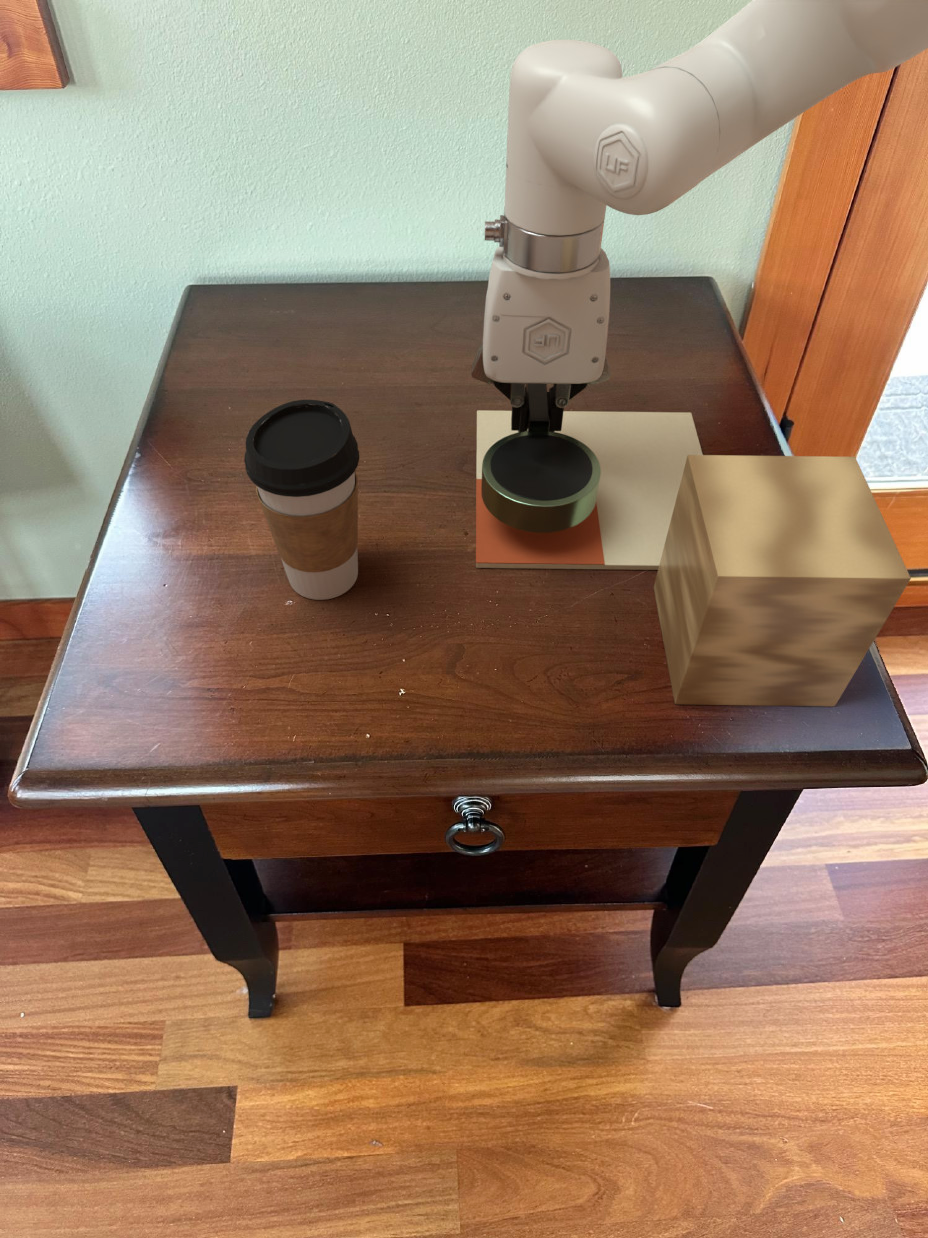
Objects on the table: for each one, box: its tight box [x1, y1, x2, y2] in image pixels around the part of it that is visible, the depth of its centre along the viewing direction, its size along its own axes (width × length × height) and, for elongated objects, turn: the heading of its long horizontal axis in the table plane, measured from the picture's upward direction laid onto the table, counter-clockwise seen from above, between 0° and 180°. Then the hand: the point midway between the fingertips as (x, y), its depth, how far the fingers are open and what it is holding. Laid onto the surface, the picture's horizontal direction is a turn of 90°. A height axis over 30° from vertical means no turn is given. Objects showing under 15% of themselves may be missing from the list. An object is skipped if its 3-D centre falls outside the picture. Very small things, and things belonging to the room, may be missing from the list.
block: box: [653, 454, 912, 707], centre depth 61 cm, size 12×12×14 cm
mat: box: [475, 409, 704, 571], centre depth 79 cm, size 22×22×1 cm
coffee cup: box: [243, 399, 360, 601], centre depth 66 cm, size 8×8×15 cm
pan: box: [481, 383, 601, 533], centre depth 74 cm, size 18×10×4 cm, turn 179°
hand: (535, 433), depth 78 cm, fingers closed on pan
